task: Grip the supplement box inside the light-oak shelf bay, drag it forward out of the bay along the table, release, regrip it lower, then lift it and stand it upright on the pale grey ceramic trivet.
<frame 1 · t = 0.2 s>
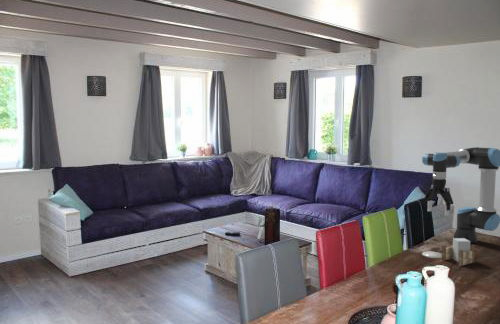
hand: (438, 213, 264), 27 cm above the table, fingers open, 13 cm apart
trivet: (432, 255, 271), on the table
supplement box: (460, 260, 261), on the table
shelf bay: (457, 261, 260), on the table
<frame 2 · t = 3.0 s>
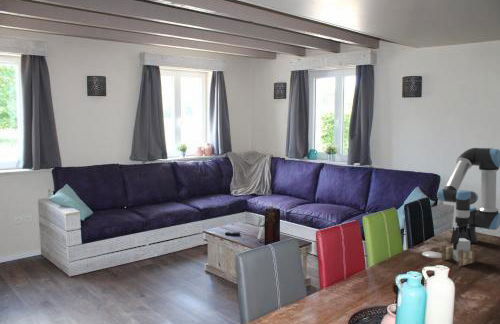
hand: (461, 253, 261), 4 cm above the table, fingers closed on supplement box, 10 cm apart
supplement box: (460, 260, 261), on the table, touching gripper
when the fingers open (4 cm above the table, at t = 4.1 s): supplement box moves 5 cm, on the table.
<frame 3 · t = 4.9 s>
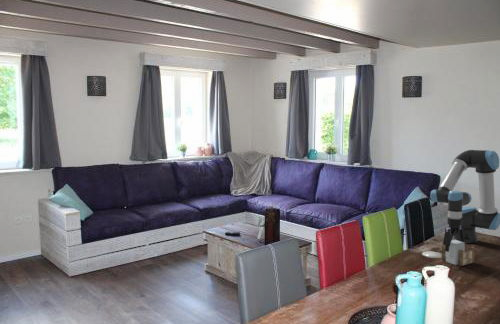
hand: (453, 255, 257), 4 cm above the table, fingers open, 9 cm apart
supplement box: (454, 262, 257), on the table, touching gripper
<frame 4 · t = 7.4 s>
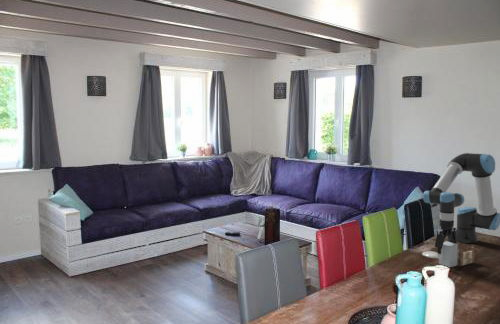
hand: (445, 257, 254), 4 cm above the table, fingers open, 9 cm apart
supplement box: (448, 265, 254), on the table, touching gripper
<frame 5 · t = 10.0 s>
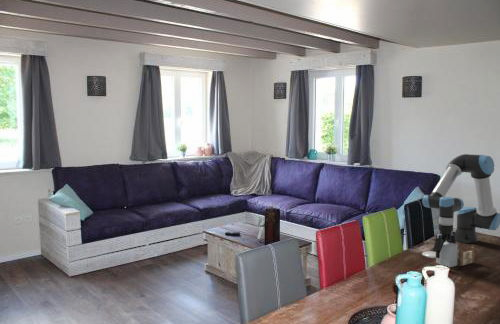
hand: (444, 261, 254), 2 cm above the table, fingers open, 10 cm apart
nothing on the table moved.
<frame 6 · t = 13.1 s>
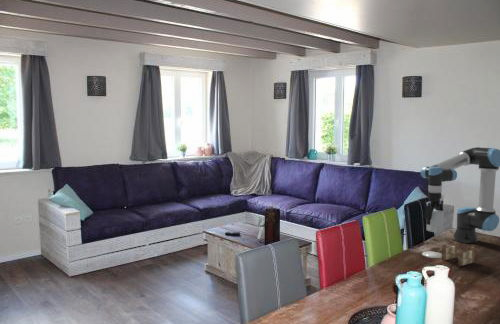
hand: (433, 228, 270), 17 cm above the table, fingers closed on supplement box, 7 cm apart
supplement box: (435, 231, 269), point 15 cm above the table, touching gripper
when the fingers open (3 cm above the table, at t = 15.9 s): supplement box drops 1 cm, resting on trivet.
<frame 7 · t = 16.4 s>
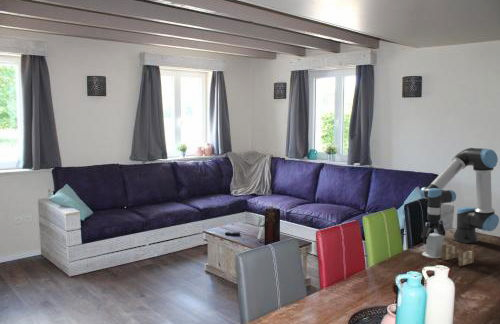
hand: (432, 247, 271), 5 cm above the table, fingers open, 13 cm apart
supplement box: (434, 255, 271), resting on trivet
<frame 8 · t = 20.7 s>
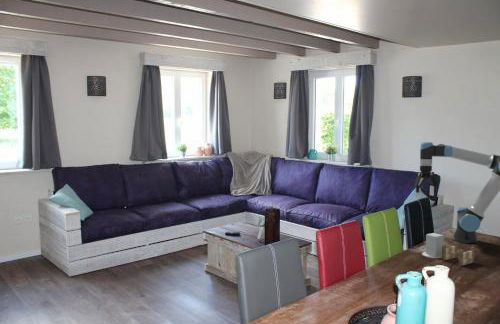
hand: (425, 196, 297), 32 cm above the table, fingers open, 13 cm apart
nothing on the table moved.
at the end: supplement box 1.1 cm from the trivet (horizontally); supplement box tilted 0°; the gripper is holding nothing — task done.
